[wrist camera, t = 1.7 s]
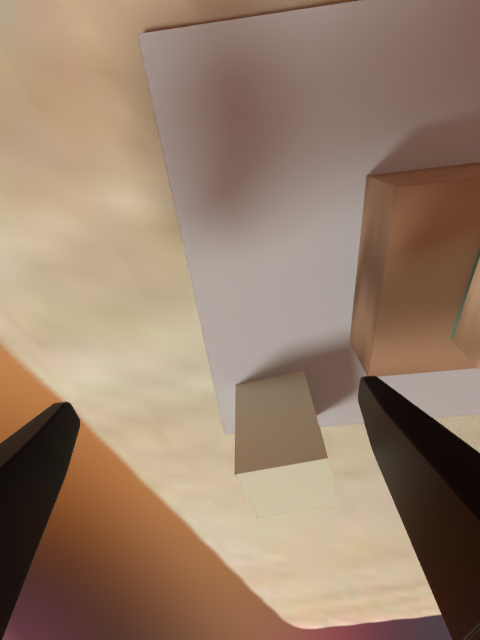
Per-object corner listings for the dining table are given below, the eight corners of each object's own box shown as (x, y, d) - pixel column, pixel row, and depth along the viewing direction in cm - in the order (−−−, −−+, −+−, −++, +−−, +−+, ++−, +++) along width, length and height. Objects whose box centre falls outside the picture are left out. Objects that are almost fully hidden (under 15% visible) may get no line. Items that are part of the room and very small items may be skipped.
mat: (591, 400, 21) (596, 404, 21) (224, 429, 23) (224, 434, 22) (943, -85, 10) (969, -93, 9) (140, 36, 11) (137, 33, 11)
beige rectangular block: (315, 416, 21) (339, 506, 16) (253, 428, 22) (258, 518, 17) (303, 370, 19) (327, 458, 14) (235, 385, 20) (234, 474, 15)
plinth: (502, 323, 18) (554, 361, 15) (347, 338, 18) (367, 377, 15) (576, 148, 13) (673, 154, 10) (363, 174, 13) (397, 187, 11)
